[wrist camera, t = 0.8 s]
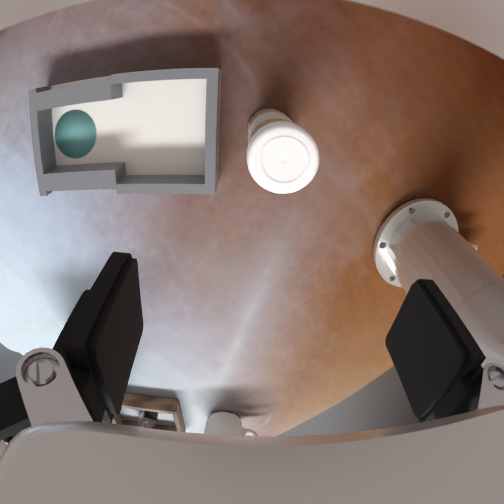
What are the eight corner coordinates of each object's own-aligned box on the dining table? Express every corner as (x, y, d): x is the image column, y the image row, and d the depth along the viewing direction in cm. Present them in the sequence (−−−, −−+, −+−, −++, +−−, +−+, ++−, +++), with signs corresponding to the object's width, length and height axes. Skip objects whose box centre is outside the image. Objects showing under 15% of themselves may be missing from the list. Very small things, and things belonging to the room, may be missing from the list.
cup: (263, 412, 56) (265, 448, 49) (252, 430, 59) (253, 463, 53) (207, 404, 54) (204, 441, 47) (201, 423, 58) (198, 456, 51)
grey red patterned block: (161, 406, 55) (158, 419, 52) (150, 419, 58) (148, 432, 55) (138, 397, 54) (135, 411, 51) (130, 411, 57) (126, 424, 54)
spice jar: (291, 151, 32) (318, 196, 20) (246, 150, 32) (247, 196, 20) (292, 107, 30) (322, 126, 18) (246, 107, 30) (246, 124, 18)
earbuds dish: (178, 398, 53) (176, 412, 51) (185, 429, 59) (184, 441, 57) (105, 389, 53) (101, 401, 50) (121, 421, 59) (118, 432, 56)
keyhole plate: (221, 69, 27) (218, 68, 24) (218, 182, 33) (215, 194, 30) (46, 87, 27) (29, 90, 24) (55, 184, 33) (40, 195, 30)
